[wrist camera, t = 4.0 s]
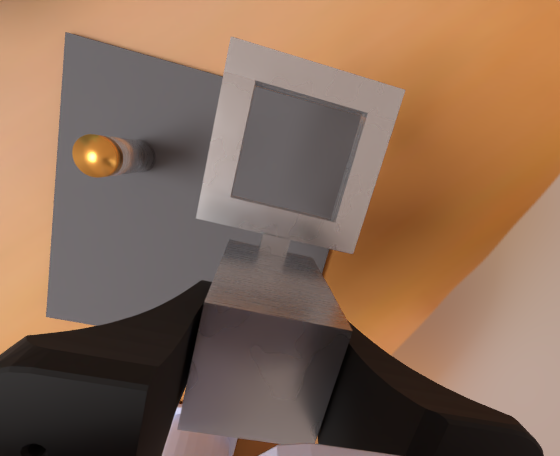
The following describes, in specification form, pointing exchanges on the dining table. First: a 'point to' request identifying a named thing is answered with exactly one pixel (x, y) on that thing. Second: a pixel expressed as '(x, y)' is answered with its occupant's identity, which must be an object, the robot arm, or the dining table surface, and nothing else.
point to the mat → (171, 179)
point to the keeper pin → (112, 155)
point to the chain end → (278, 262)
